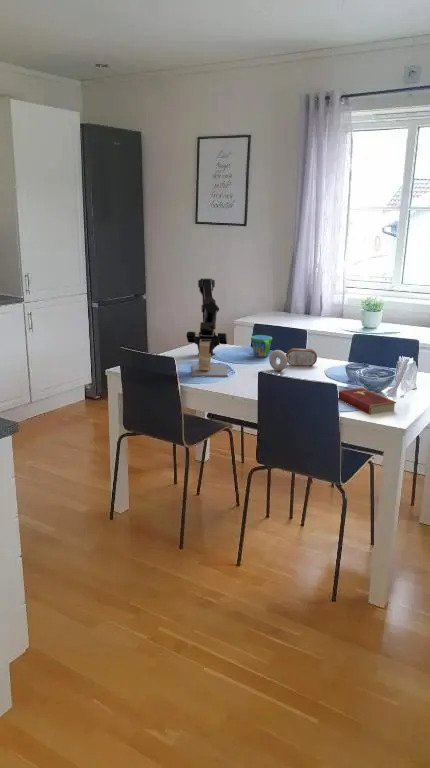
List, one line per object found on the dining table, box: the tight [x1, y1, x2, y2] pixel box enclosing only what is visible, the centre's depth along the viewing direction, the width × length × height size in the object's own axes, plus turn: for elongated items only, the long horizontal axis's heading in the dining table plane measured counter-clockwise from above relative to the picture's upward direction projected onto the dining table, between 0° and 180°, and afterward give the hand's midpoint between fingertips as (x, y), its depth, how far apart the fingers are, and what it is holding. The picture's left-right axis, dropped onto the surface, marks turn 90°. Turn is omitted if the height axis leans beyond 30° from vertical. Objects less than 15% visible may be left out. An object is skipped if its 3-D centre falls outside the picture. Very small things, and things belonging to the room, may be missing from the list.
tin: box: [285, 347, 318, 367], centre depth 297 cm, size 15×3×8 cm, turn 84°
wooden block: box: [198, 340, 212, 370], centre depth 284 cm, size 5×4×13 cm
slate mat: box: [191, 363, 229, 378], centre depth 286 cm, size 20×16×1 cm
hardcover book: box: [338, 387, 397, 415], centre depth 239 cm, size 12×21×4 cm, turn 23°
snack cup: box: [250, 334, 273, 358], centre depth 315 cm, size 16×10×10 cm
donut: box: [268, 349, 288, 372], centre depth 287 cm, size 10×4×10 cm, turn 46°
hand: (204, 353), depth 282 cm, fingers closed on wooden block, 4 cm apart
